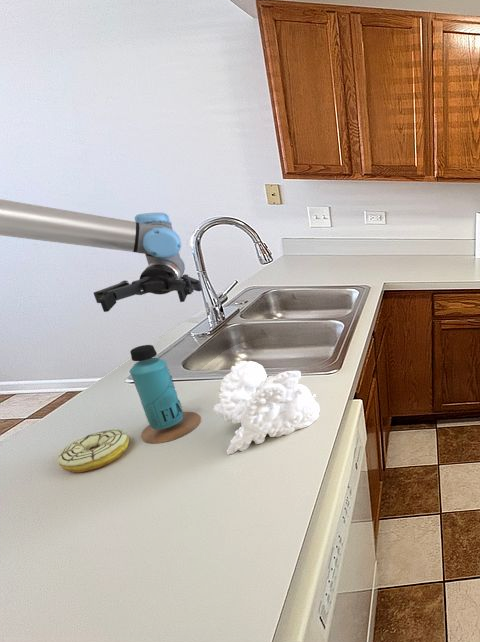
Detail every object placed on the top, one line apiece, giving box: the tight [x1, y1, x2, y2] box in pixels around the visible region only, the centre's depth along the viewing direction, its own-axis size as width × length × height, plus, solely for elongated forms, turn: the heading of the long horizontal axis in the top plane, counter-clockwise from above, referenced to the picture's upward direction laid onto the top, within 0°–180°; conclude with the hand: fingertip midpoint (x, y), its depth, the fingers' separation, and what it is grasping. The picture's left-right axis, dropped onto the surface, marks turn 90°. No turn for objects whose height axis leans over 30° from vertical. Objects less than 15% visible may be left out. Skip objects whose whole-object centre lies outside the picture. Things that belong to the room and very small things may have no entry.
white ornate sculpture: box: [212, 360, 321, 456], centre depth 88 cm, size 19×20×20 cm
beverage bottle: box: [129, 344, 184, 429], centre depth 87 cm, size 6×7×20 cm
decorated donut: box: [56, 429, 130, 473], centre depth 81 cm, size 10×11×4 cm
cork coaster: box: [140, 411, 202, 445], centre depth 90 cm, size 11×11×1 cm
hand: (143, 301), depth 88 cm, fingers open, 13 cm apart
